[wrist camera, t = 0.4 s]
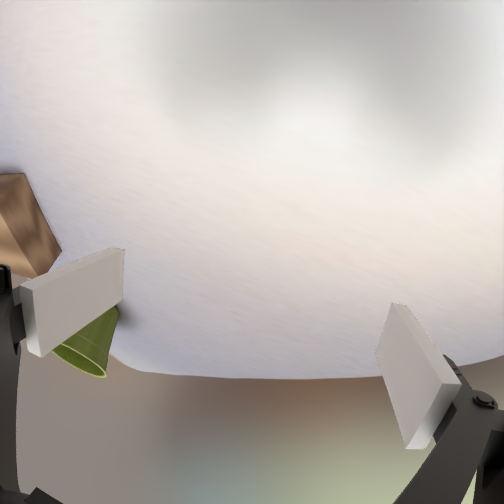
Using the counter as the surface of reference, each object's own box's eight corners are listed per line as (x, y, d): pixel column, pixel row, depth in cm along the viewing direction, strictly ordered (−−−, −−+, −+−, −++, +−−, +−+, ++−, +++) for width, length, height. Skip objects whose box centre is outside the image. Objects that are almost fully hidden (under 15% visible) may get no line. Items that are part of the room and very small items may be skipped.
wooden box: (-27, 174, 34) (-51, 199, 30) (23, 170, 32) (-7, 200, 28) (8, 241, 44) (-10, 266, 40) (61, 251, 42) (41, 281, 38)
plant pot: (61, 279, 49) (31, 332, 41) (113, 286, 46) (81, 349, 38) (92, 319, 57) (68, 368, 49) (141, 329, 54) (119, 384, 46)
